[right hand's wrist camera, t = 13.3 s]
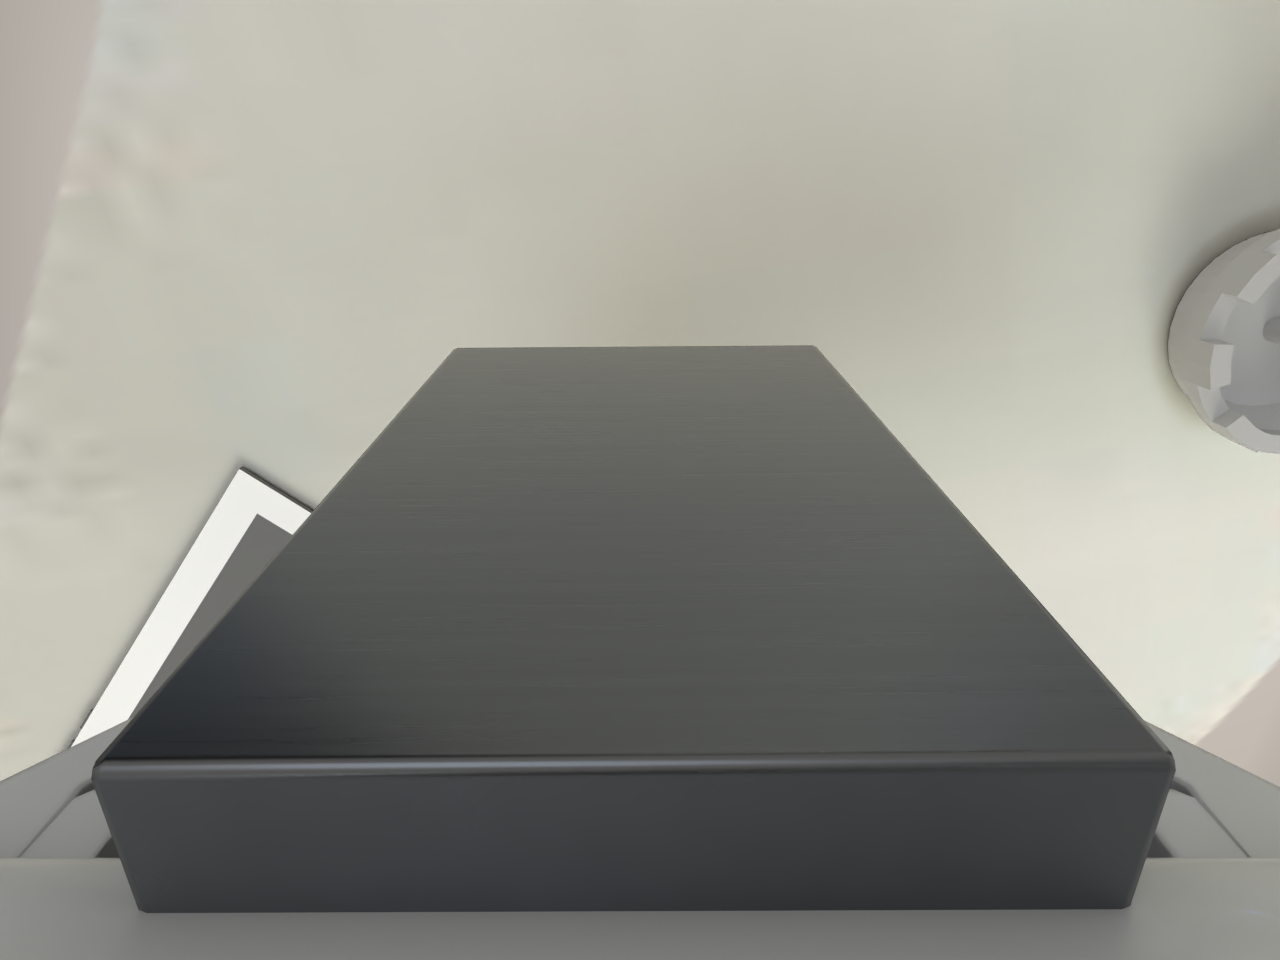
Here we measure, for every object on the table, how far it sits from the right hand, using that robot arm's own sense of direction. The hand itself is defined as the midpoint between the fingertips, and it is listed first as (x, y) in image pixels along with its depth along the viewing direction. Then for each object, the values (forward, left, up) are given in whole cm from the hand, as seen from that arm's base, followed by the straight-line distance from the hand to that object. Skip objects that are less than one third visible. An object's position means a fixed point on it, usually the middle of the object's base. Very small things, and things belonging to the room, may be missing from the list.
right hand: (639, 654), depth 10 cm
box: (+7, +6, -5) cm, 10 cm away
